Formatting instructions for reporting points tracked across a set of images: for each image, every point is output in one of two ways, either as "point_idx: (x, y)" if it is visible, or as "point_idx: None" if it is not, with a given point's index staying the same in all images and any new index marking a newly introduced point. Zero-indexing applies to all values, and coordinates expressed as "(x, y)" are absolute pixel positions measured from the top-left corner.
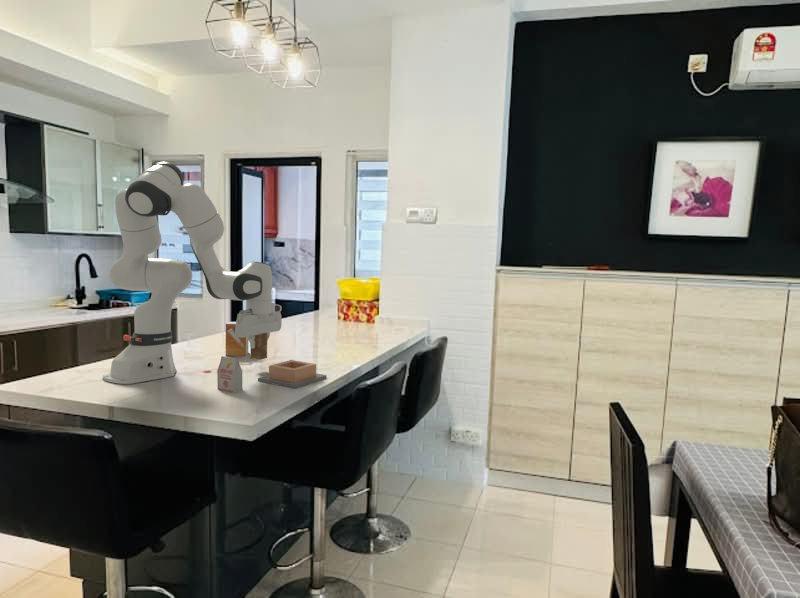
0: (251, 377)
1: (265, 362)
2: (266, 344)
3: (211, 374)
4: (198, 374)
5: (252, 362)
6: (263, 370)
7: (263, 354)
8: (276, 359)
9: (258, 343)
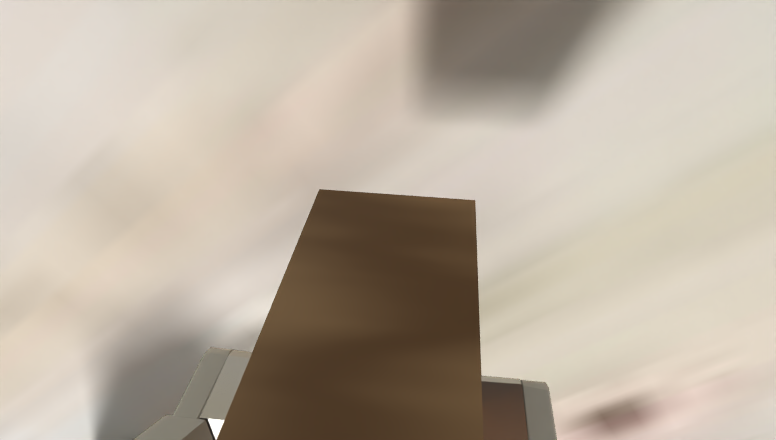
0: (715, 56)
1: (155, 281)
2: (275, 340)
3: (689, 373)
4: (713, 424)
5: (229, 343)
6: (375, 139)
7: (385, 232)
8: (25, 269)
9: (479, 420)
